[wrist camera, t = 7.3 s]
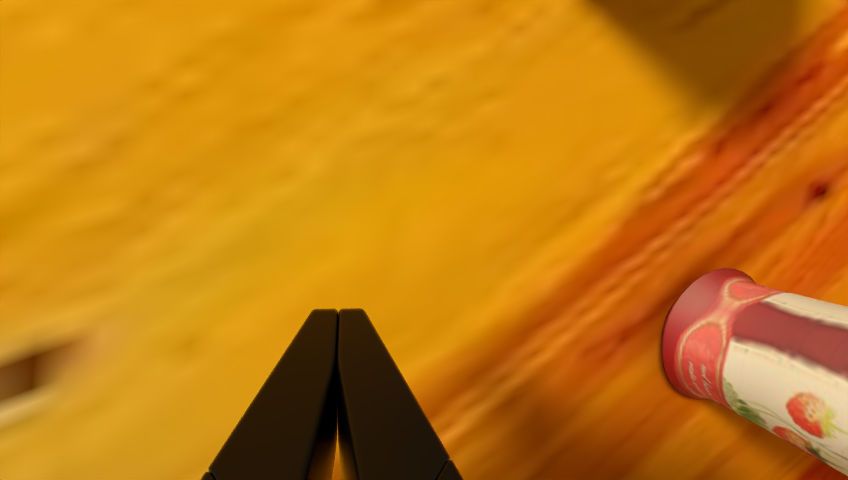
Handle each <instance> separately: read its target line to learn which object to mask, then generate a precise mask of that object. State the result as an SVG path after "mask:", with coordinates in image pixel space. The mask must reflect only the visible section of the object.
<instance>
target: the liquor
mask: <svg viewBox="0 0 848 480" xmlns="http://www.w3.org/2000/svg"><path fill="white" fill-rule="evenodd" d="M662 355H663V362H664V368H665V371H666V374H667V377H668V379H669V380H670V382H671V384H672V385H673V387H674V388H675V389H676V390H677V391H679V392H680V393H681V394H683V395H685V396H687V397H689V398H693V399H698V400H700V399H712V400H713V401H715V402H717V403H719V404H721V405H722V406H724V407H726V408H728V409H730V410H731V411H733V412H735V413H737V414H739V415H740V416H742V417H744V418H746V419H748V420H749V421H751V422H753V423H755V424H757V425H759V426H760V427H762V428H764V429H766V430H768V431H769V432H771V433H773V434H775V435H776V436H778V437H780V438H782V439H783V440H785V441H787V442H789V443H790V444H792V445H794V446H796V447H797V448H799V449H801V450H803V451H804V452H806V453H808V454H810V455H811V456H813V457H815V458H817V459H818V460H820V461H822V462H824V463H825V464H827V465H829V466H831V467H832V468H834V469H836V470H838V471H839V472H841V473H843V474H845V475H846V476H848V307H847V306H842V305H838V304H834V303H829V302H825V301H821V300H817V299H813V298H809V297H805V296H801V295H797V294H793V293H789V292H785V291H781V290H777V289H773V288H769V287H765V286H761V285H757V284H756V283H755V282H754V280H753V279H752V278H751V277H750V276H748V275H747V274H745V273H744V272H742V271H739V270H736V269H727V268H723V269H719V270H714V271H712V272H710V273H707V274H705V275H703V276H702V277H700V278H699V279H698V280H696V281H695V282H694V283H692V284H691V286H690V287H689V288H688V289H687V290H686V291H685V292H684V293H683V294H682V295H681V296H680V297H679V298H678V299H677V300H676V301H675V303H674V304H673V306H672V307H671V308H670V310H669V312H668V314H667V317H666V320H665V323H664V327H663V338H662Z"/></svg>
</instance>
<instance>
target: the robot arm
mask: <svg viewBox="0 0 848 480" xmlns="http://www.w3.org/2000/svg"><path fill="white" fill-rule="evenodd" d="M337 426H338V443H339V454H340V463H341V472H342V480H463V478H462V476H461V475H460V473H459V471H458V470H457V468H456V466H455V464H454V463H453V461H452V460H449V459H450V457H449V455H448V453H447V451H446V449H445V448H444V446H443V444H442V443H441V441H440V439H439V437H438V436H437V434H436V432H435V431H434V429H433V427H432V425H431V424H430V422H429V420H428V419H427V417H426V415H425V413H424V412H423V410H422V408H421V407H420V405H419V403H418V401H417V400H416V398H415V396H414V395H413V393H412V391H411V389H410V388H409V386H408V384H407V383H406V381H405V379H404V377H403V376H402V374H401V372H400V371H399V369H398V367H397V365H396V364H395V362H394V360H393V359H392V357H391V355H390V353H389V352H388V350H387V348H386V347H385V345H384V343H383V341H382V340H381V338H380V336H379V335H378V333H377V331H376V329H375V328H374V326H373V324H372V323H371V321H370V319H369V317H368V316H367V314H366V312H365V311H364V310H363V309H360V308H358V309H341V310H340V311H339V314H338V311H337V310H336V309H315V310H313V311H312V312H311V313H310V315H309V316H308V318H307V319H306V321H305V322H304V324H303V325H302V327H301V328H300V330H299V331H298V333H297V334H296V336H295V337H294V339H293V340H292V342H291V344H290V345H289V347H288V348H287V350H286V351H285V353H284V354H283V356H282V357H281V359H280V360H279V362H278V363H277V365H276V366H275V368H274V369H273V371H272V372H271V374H270V375H269V377H268V378H267V380H266V381H265V383H264V385H263V386H262V388H261V389H260V391H259V392H258V394H257V395H256V397H255V398H254V400H253V401H252V403H251V404H250V406H249V407H248V409H247V410H246V412H245V413H244V415H243V416H242V418H241V419H240V421H239V422H238V424H237V426H236V427H235V429H234V430H233V432H232V433H231V435H230V436H229V438H228V439H227V441H226V442H225V444H224V445H223V447H222V448H221V450H220V451H219V453H218V454H217V456H216V457H215V459H214V460H213V462H212V463H211V465H210V467H209V472H206V473H205V474H204V475H203V477H202V478H201V480H332V473H333V466H334V459H335V451H336V442H337Z"/></svg>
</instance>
